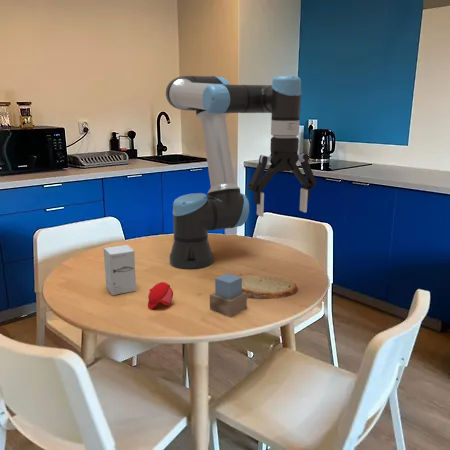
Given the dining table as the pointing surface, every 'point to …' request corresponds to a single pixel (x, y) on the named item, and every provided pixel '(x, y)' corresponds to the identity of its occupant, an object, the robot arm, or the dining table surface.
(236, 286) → the tower top
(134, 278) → the supplement box
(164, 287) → the cap
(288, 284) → the slice of bread
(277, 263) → the dining table surface
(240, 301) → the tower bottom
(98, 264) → the dining table surface
